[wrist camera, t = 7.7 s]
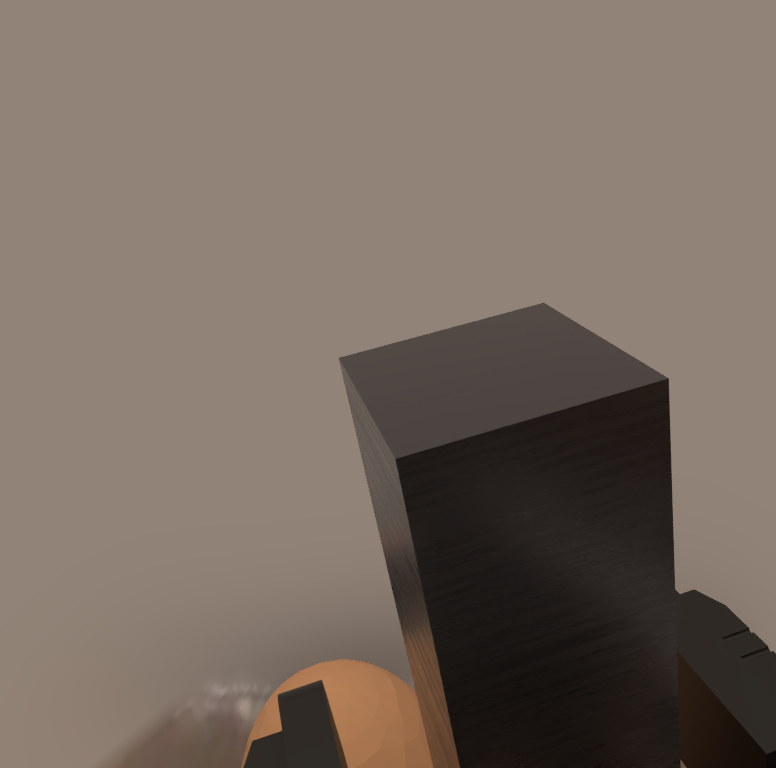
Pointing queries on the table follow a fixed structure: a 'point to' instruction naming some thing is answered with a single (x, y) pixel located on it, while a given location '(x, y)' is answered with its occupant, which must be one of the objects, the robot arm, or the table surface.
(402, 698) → the egg
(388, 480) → the gray l-shaped bracket
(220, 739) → the table surface
